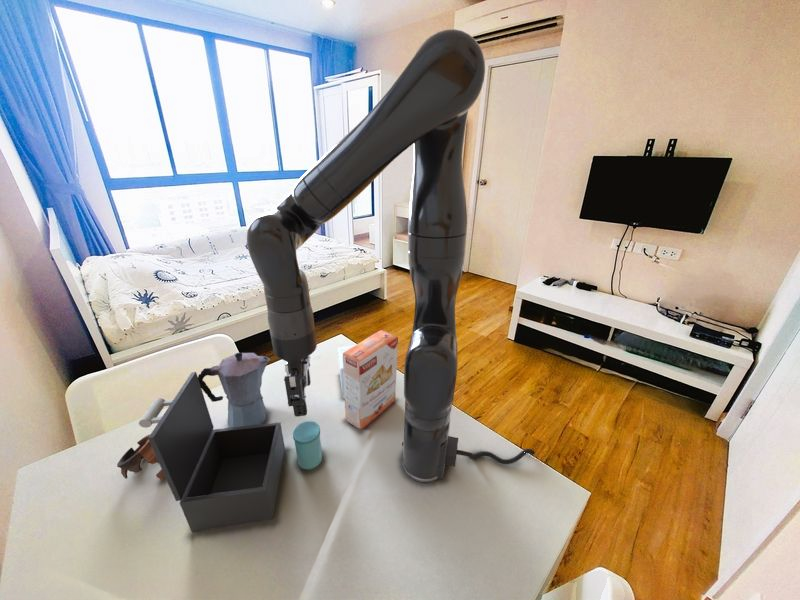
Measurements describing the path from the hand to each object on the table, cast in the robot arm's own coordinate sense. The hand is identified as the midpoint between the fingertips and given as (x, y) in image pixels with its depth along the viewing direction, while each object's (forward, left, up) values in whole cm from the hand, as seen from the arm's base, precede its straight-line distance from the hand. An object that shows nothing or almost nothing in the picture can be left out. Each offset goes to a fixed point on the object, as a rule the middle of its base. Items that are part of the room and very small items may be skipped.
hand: (303, 398), depth 63 cm
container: (0, 0, -18) cm, 18 cm away
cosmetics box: (+1, -26, -18) cm, 32 cm away
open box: (+10, +9, -18) cm, 22 cm away
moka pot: (+21, -6, -18) cm, 28 cm away
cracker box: (-8, -18, -18) cm, 27 cm away
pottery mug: (+31, +9, -18) cm, 37 cm away
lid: (+16, +12, -1) cm, 20 cm away
